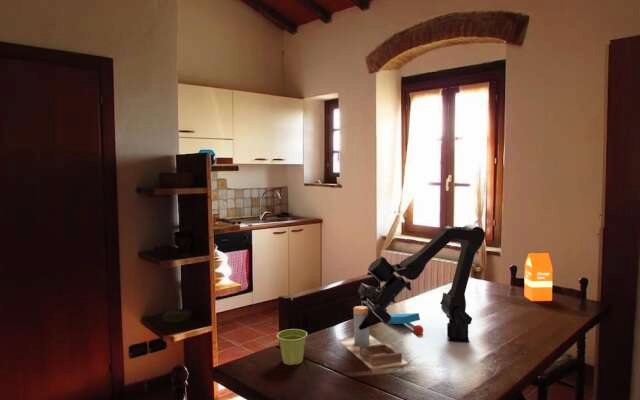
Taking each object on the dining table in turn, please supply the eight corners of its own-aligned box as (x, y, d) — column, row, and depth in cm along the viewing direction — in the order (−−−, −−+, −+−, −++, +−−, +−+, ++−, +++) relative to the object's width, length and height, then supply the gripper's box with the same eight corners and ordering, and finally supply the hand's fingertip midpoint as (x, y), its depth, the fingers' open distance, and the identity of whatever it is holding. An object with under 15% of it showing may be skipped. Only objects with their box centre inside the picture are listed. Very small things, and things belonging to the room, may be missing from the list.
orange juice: (552, 300, 207) (552, 254, 206) (531, 301, 207) (532, 255, 206) (543, 295, 215) (544, 251, 214) (524, 296, 215) (524, 251, 214)
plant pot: (296, 370, 142) (295, 341, 142) (271, 363, 147) (270, 336, 147) (313, 359, 150) (313, 332, 149) (289, 353, 155) (288, 327, 154)
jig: (337, 342, 163) (337, 332, 163) (369, 337, 168) (369, 327, 167) (372, 373, 139) (372, 361, 139) (408, 366, 143) (408, 355, 143)
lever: (383, 336, 182) (415, 336, 167) (380, 317, 183) (411, 316, 168) (397, 332, 186) (429, 332, 171) (394, 314, 187) (425, 312, 172)
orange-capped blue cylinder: (367, 340, 162) (366, 305, 161) (371, 345, 157) (370, 309, 156) (352, 341, 161) (352, 306, 161) (356, 347, 157) (355, 311, 156)
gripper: (365, 269, 167) (334, 302, 167) (380, 282, 149) (346, 319, 148) (387, 290, 169) (357, 323, 168) (405, 305, 151) (371, 342, 150)
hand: (357, 326), depth 159 cm, fingers closed on orange-capped blue cylinder, 5 cm apart
